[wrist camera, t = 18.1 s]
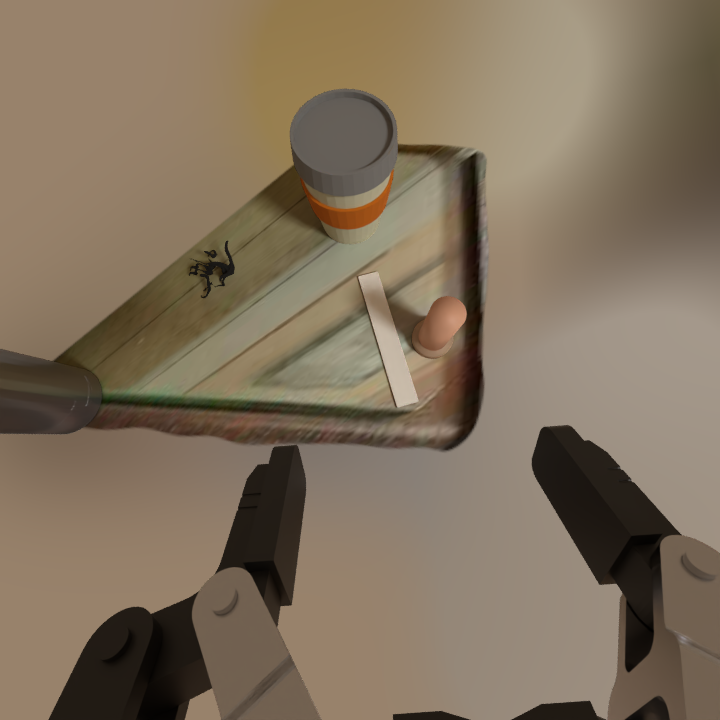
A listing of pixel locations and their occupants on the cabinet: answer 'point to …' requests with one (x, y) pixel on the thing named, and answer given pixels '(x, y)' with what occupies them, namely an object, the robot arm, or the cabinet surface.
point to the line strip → (388, 340)
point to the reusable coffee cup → (345, 160)
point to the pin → (439, 327)
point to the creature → (225, 269)
